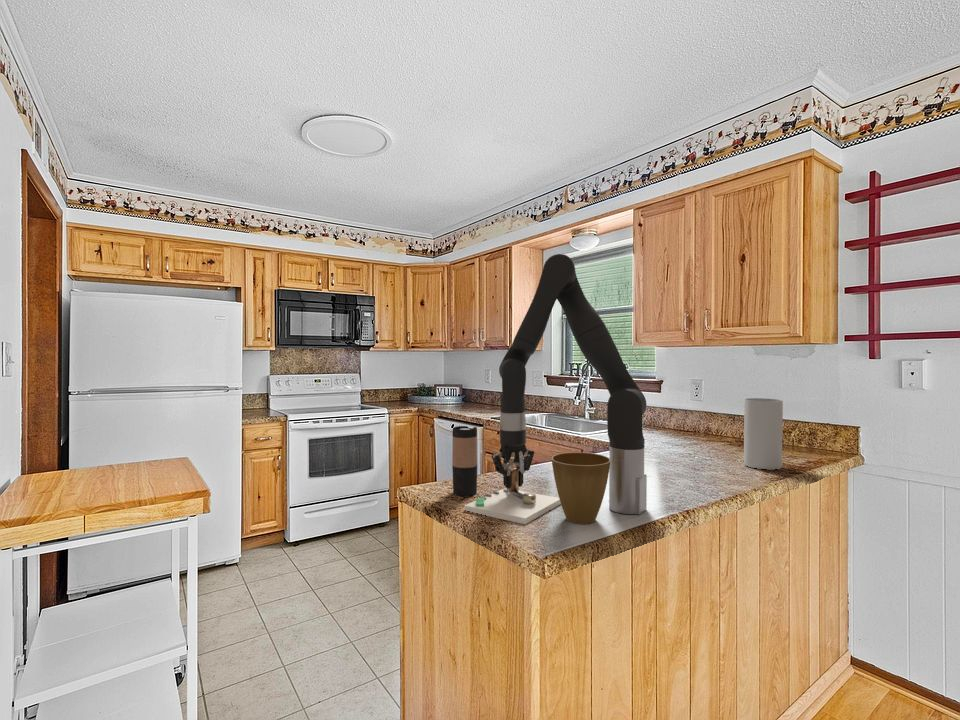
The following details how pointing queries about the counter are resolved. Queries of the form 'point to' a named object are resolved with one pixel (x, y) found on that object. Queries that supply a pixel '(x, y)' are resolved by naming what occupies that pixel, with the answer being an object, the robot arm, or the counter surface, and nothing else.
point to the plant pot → (580, 484)
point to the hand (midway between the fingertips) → (513, 486)
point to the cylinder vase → (763, 433)
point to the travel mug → (464, 461)
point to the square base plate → (512, 506)
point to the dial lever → (527, 497)
